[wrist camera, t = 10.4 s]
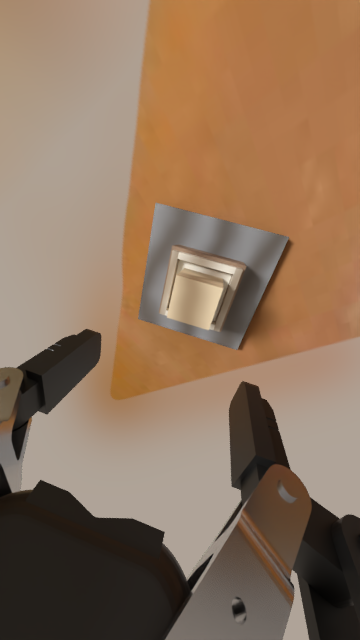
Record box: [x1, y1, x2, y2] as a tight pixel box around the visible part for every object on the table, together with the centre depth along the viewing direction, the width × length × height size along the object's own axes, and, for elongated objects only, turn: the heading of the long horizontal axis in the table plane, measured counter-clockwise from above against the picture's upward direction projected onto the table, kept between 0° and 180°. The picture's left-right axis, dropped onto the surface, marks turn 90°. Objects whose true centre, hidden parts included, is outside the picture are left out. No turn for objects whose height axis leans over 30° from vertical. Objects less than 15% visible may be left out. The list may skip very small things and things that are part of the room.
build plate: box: [138, 203, 289, 350], centre depth 26 cm, size 18×18×6 cm
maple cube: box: [167, 268, 223, 330], centre depth 22 cm, size 5×5×5 cm
